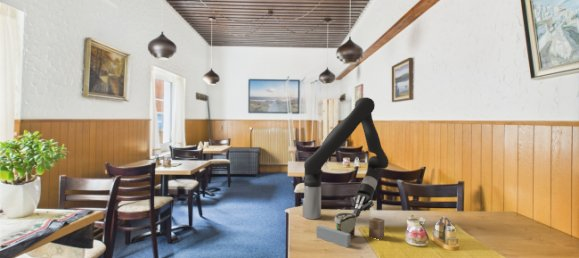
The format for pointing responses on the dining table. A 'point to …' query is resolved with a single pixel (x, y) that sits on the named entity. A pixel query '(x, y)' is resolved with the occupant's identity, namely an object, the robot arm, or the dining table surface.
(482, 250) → the dining table surface
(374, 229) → the walnut block
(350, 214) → the food container
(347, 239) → the rail
